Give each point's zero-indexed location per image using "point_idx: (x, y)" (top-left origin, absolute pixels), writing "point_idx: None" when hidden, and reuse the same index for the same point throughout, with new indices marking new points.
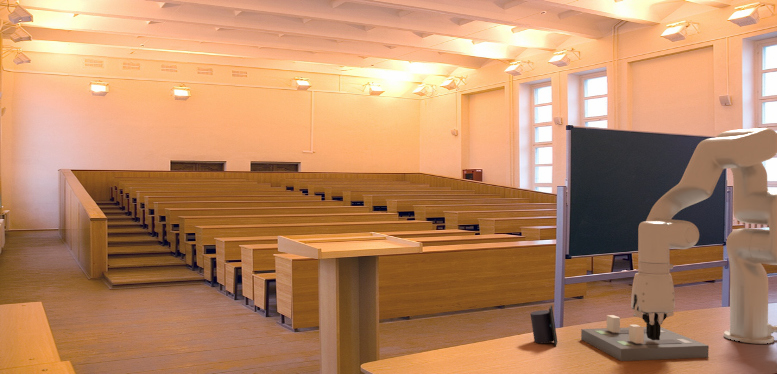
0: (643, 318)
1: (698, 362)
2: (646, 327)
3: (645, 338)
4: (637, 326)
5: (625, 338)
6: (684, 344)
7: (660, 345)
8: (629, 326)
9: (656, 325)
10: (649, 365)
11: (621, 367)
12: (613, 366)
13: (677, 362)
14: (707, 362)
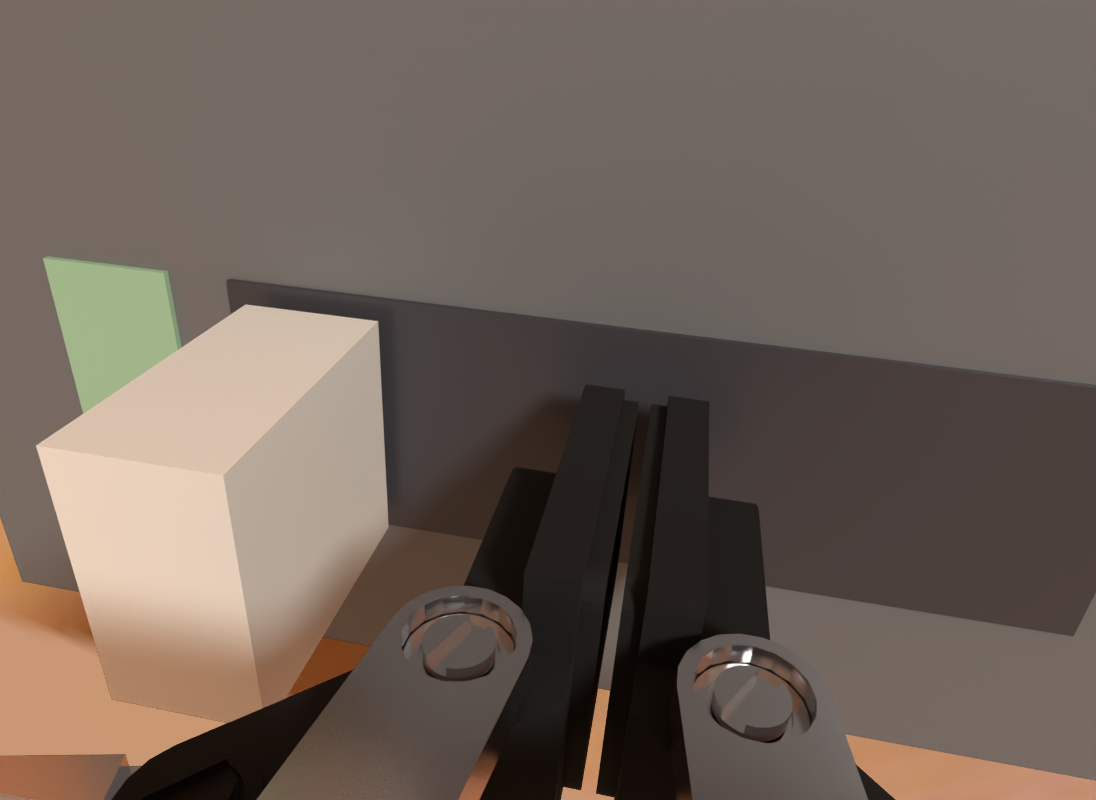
0: (273, 750)
1: (905, 759)
2: (479, 550)
3: (698, 169)
4: (173, 632)
5: (286, 71)
6: (1048, 683)
7: (620, 612)
8: (72, 438)
9: (598, 786)
10: (336, 672)
11: (68, 637)
12: (8, 598)
13: None
14: (1006, 787)
